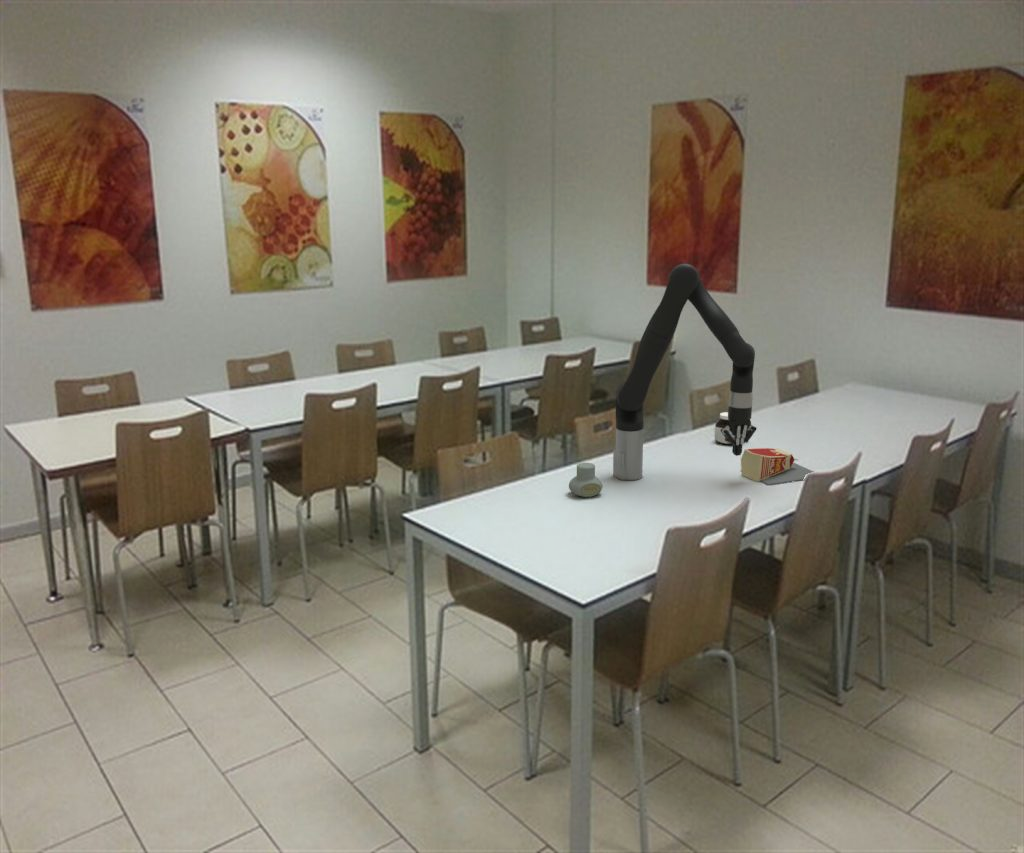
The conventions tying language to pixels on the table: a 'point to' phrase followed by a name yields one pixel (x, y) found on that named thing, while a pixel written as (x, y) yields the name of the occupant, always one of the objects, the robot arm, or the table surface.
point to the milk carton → (765, 462)
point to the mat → (788, 475)
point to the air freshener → (585, 481)
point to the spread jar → (719, 425)
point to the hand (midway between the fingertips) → (737, 454)
